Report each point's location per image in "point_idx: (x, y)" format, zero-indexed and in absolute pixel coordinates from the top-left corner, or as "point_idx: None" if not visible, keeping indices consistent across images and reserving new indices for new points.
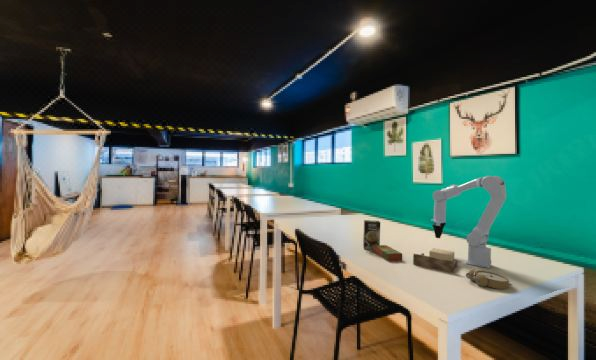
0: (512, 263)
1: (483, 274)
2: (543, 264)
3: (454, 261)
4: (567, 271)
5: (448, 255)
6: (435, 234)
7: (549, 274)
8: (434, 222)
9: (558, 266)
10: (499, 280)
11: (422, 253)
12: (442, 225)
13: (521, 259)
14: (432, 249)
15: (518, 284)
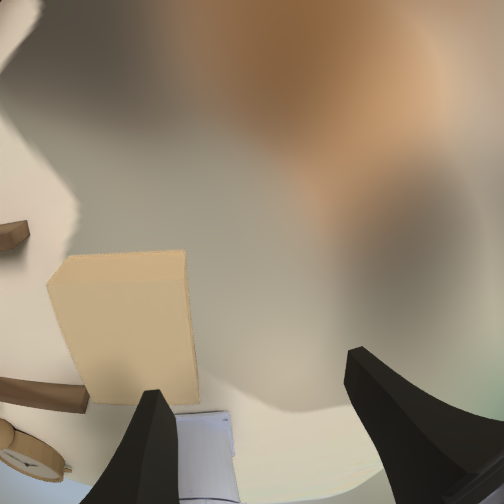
0: (304, 465)
1: (18, 455)
2: (343, 477)
3: (47, 406)
4: (306, 498)
5: (90, 389)
6: (129, 429)
7: (249, 500)
8: (493, 462)
9: (341, 485)
10: (24, 468)
11: (4, 238)
12: (404, 497)
13: (370, 453)
14: (117, 287)
15: (91, 481)
